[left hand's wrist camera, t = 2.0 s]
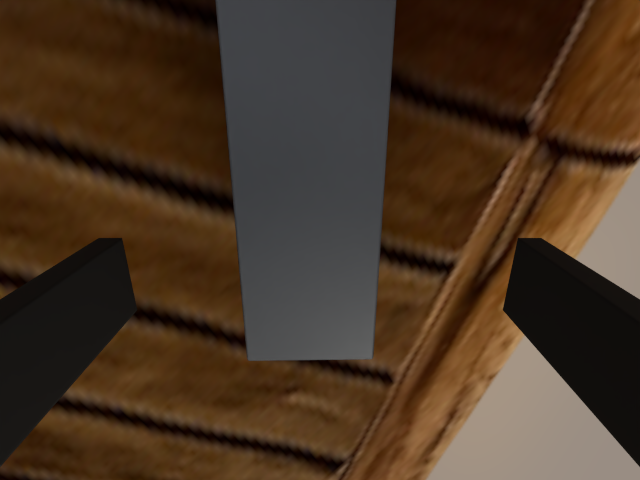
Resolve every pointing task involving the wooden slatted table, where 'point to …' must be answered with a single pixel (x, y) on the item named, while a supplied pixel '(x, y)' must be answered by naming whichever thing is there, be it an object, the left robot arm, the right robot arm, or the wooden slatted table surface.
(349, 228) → the bar
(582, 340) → the left robot arm
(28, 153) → the wooden slatted table surface
